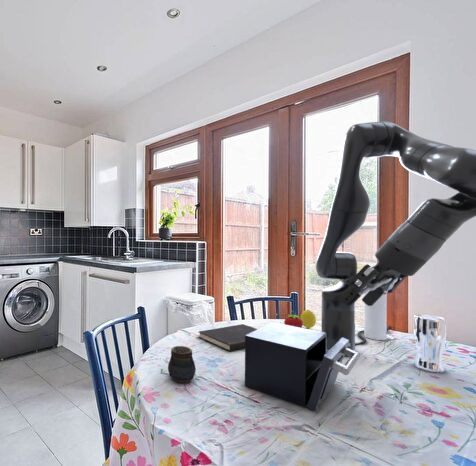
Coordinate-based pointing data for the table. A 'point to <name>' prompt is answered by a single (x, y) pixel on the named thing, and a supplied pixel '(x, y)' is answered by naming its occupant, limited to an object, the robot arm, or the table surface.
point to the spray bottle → (376, 319)
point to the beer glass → (429, 342)
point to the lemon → (308, 319)
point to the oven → (284, 361)
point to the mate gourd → (181, 364)
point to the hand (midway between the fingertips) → (355, 303)
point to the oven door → (331, 371)
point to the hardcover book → (227, 336)
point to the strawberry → (293, 321)
